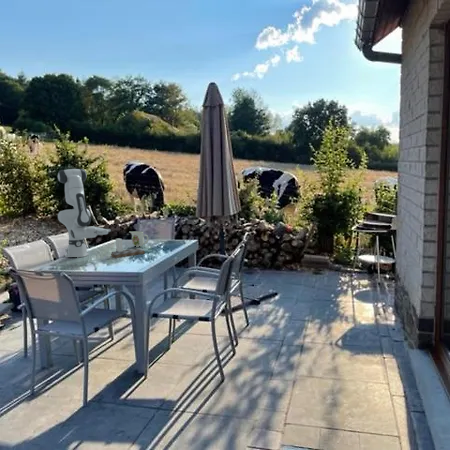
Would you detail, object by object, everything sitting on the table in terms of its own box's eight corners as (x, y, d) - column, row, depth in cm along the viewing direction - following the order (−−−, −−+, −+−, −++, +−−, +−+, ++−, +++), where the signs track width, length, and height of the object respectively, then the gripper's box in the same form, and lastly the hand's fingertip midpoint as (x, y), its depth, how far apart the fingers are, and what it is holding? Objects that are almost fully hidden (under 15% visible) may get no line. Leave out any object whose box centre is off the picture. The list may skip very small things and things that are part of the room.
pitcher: (146, 247, 417) (145, 232, 415) (127, 247, 420) (126, 232, 419) (150, 245, 427) (150, 230, 426) (132, 245, 431) (131, 230, 429)
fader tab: (118, 254, 376) (117, 239, 374) (116, 253, 381) (115, 238, 379) (123, 253, 378) (122, 239, 377) (120, 252, 383) (119, 238, 382)
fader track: (115, 257, 372) (115, 253, 372) (111, 256, 381) (110, 251, 380) (144, 253, 386) (144, 249, 386) (139, 252, 394) (139, 247, 394)
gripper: (96, 229, 357) (114, 227, 364) (88, 226, 374) (105, 225, 381) (97, 237, 357) (114, 235, 365) (88, 234, 374) (105, 232, 382)
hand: (109, 230), depth 373 cm, fingers open, 3 cm apart
